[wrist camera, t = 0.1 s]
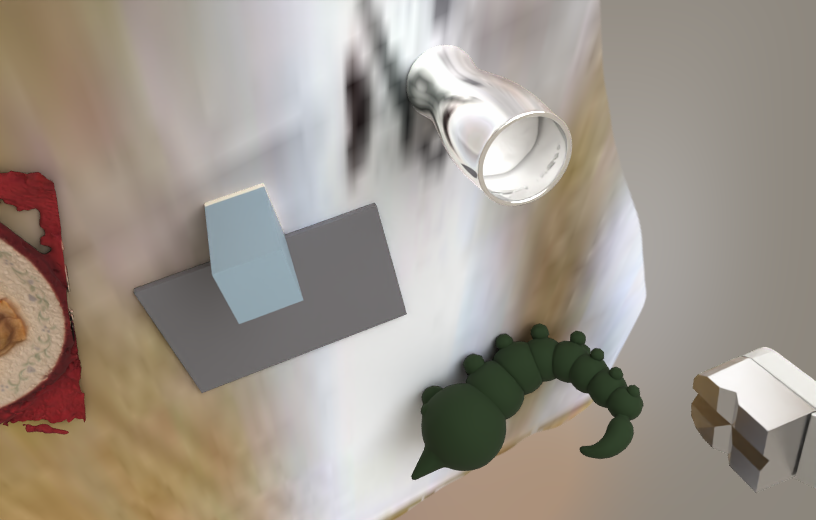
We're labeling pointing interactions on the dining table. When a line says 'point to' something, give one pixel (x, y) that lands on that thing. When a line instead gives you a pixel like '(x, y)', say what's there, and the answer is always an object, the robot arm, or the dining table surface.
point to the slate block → (250, 254)
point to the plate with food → (36, 316)
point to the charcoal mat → (290, 326)
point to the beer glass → (490, 126)
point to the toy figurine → (519, 400)
